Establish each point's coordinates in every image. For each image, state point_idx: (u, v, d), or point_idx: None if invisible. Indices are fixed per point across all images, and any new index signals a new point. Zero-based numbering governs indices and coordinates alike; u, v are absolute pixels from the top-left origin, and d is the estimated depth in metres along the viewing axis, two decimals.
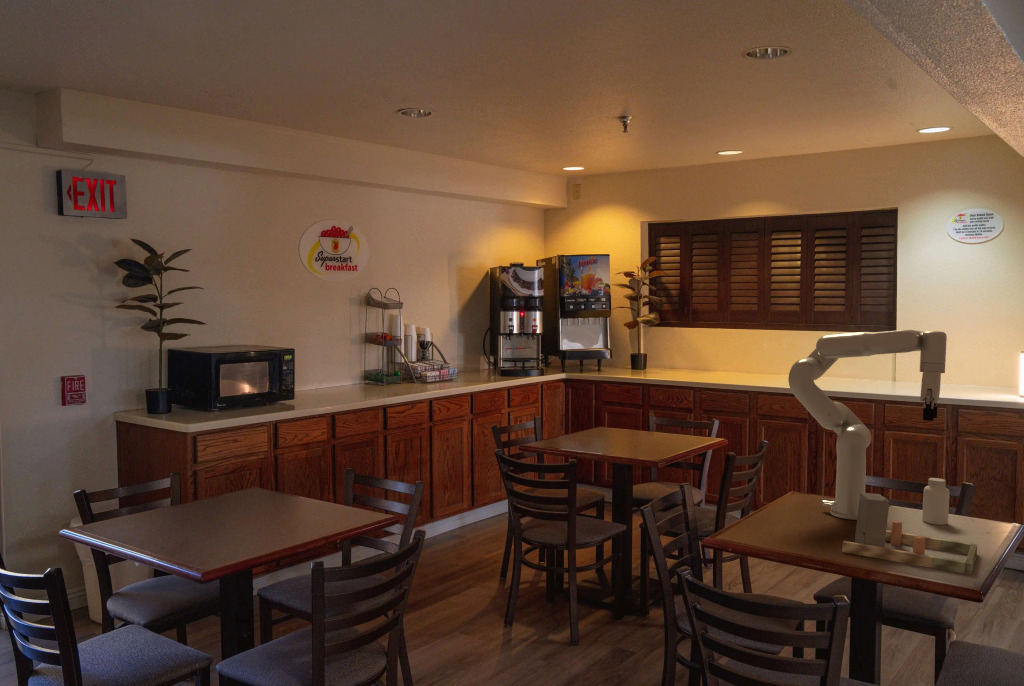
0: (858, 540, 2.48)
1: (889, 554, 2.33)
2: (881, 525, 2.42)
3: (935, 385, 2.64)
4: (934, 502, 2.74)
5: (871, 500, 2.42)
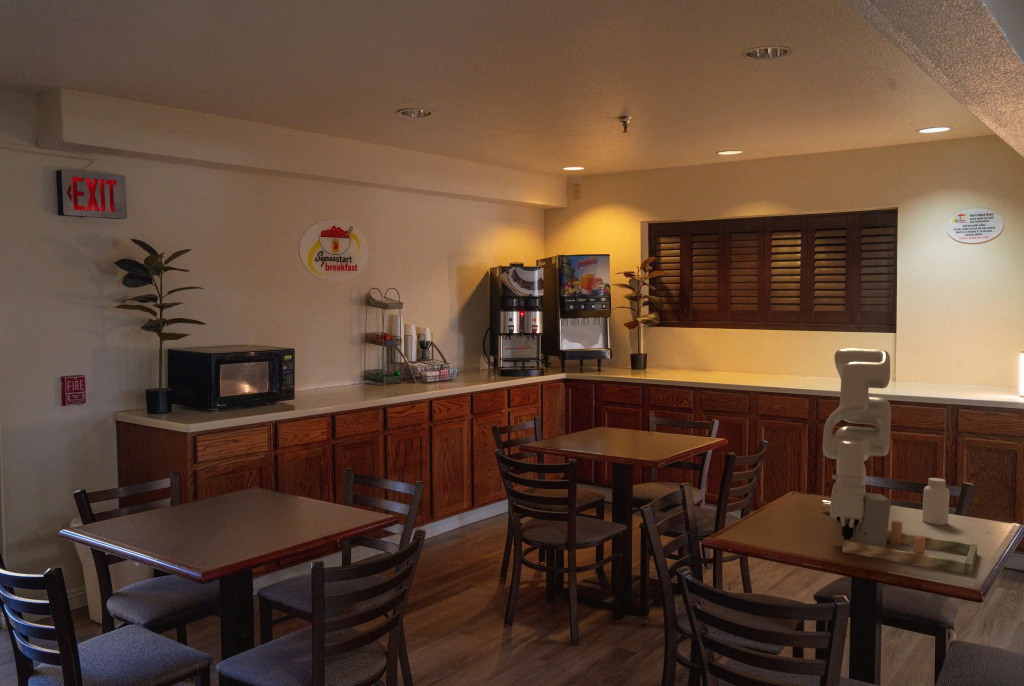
0: (859, 540, 2.47)
1: (889, 554, 2.33)
2: (883, 525, 2.42)
3: None
4: (934, 502, 2.74)
5: (872, 500, 2.42)
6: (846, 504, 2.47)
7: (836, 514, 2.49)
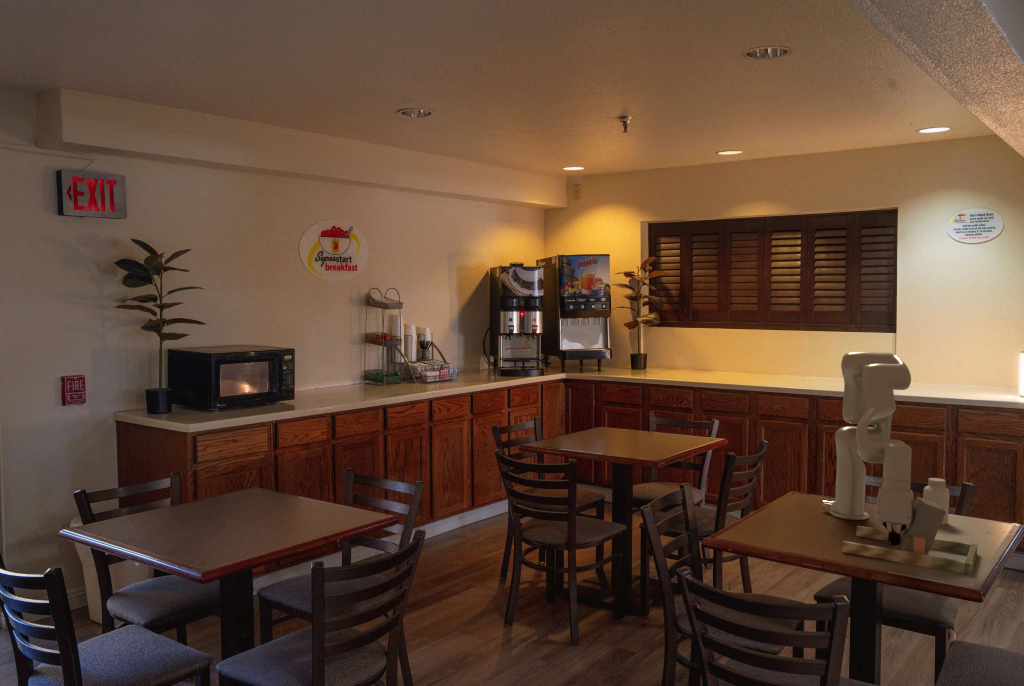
0: (901, 542, 2.40)
1: (889, 554, 2.33)
2: (931, 533, 2.34)
3: None
4: (934, 502, 2.74)
5: (927, 505, 2.34)
6: (893, 509, 2.40)
7: (882, 519, 2.41)
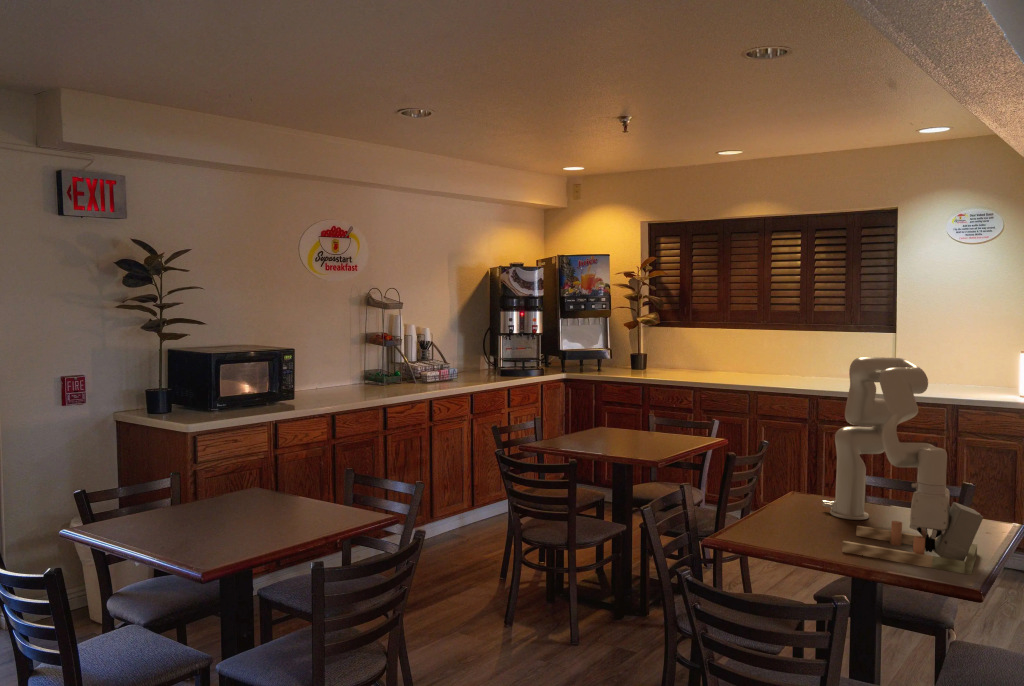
0: (936, 548, 2.35)
1: (889, 554, 2.33)
2: (967, 539, 2.29)
3: None
4: None
5: (964, 510, 2.29)
6: (928, 514, 2.34)
7: (917, 525, 2.36)
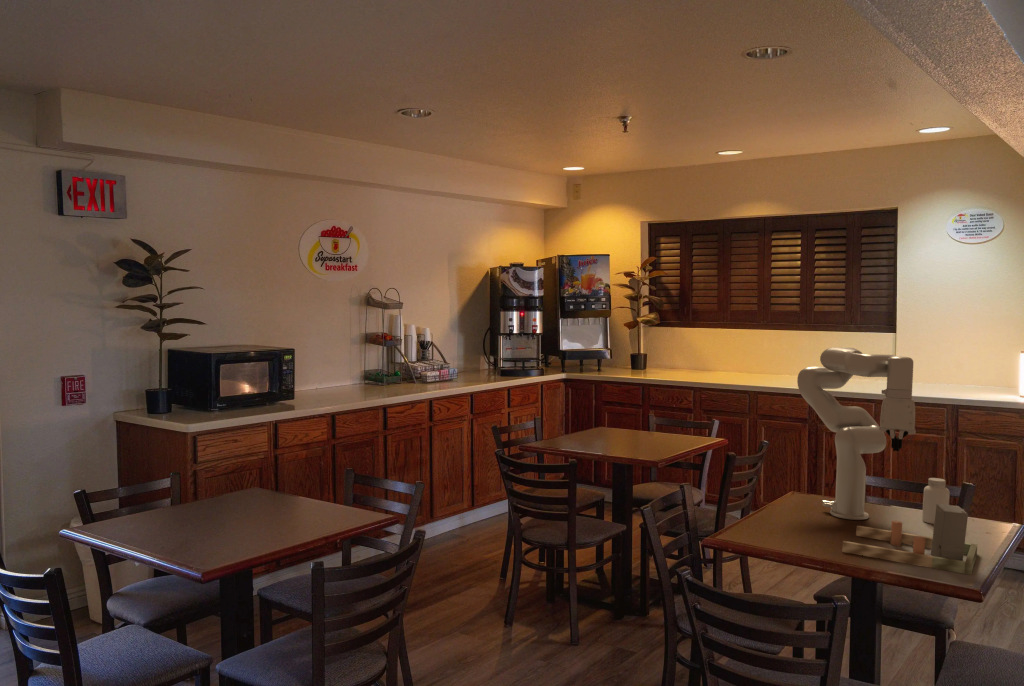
0: (934, 553, 2.35)
1: (889, 554, 2.33)
2: (959, 538, 2.29)
3: None
4: (934, 502, 2.74)
5: (948, 512, 2.30)
6: (896, 416, 2.59)
7: (886, 426, 2.61)
